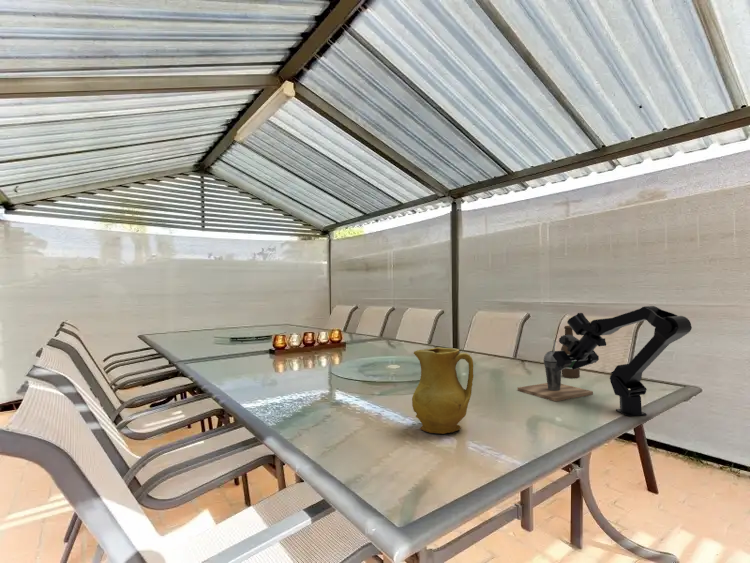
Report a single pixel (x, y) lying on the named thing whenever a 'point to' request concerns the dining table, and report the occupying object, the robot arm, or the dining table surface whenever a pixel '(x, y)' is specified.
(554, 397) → the walnut board
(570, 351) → the robot arm
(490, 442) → the dining table surface
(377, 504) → the dining table surface
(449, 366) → the pitcher
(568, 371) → the beer bottle
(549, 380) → the beverage cup
